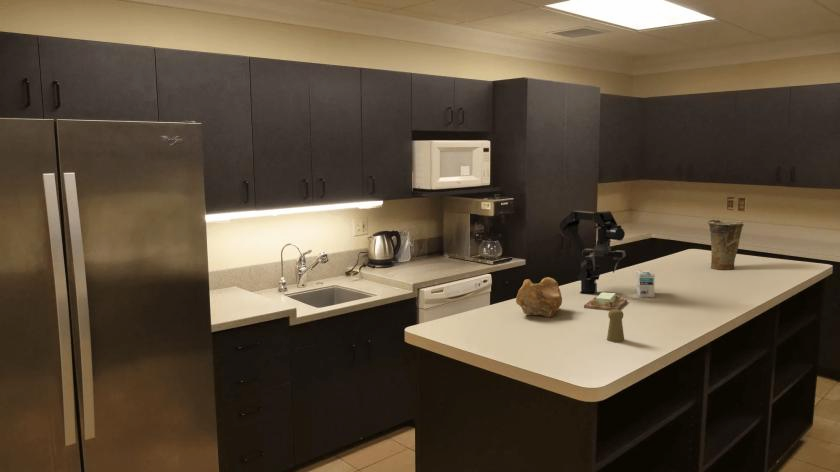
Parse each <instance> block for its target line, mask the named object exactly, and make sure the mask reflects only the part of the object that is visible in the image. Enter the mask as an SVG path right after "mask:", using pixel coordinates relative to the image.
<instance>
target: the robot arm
mask: <svg viewBox="0 0 840 472" xmlns="http://www.w3.org/2000/svg"><path fill="white" fill-rule="evenodd" d="M583 220H585V221H591V222H593V223H595V225H594V226H593V228H594V229H597V230H596V231H597V232H596V233H597V234H596V235H597V237H596V238H597V239H596V244H595V246H594V247H593V248H586V246H585V244H584V243H583V240H582V238H581V237H580V235H579V232H580V231H579V229H580V227H579V226H580V224H581V221H583ZM559 229H560V231H561V232H562V234H563V235H564V236H565V237H566V238H568V240H569V241H570V243H571V245H572V247H573V249H574V251H575V253H576V255H577V257H578V260H579V262H580V273H579V274H578V275H577V278H578V279H577V280H578V281H581V282H580V291H579V293H580V294H587V295H594V294H596V293H597V292H598V283H597V280H598V281H599V279H600V276H601V273H602V272H601V266H600V264H599V261H598V260H597V259H596V258H595V257H605V256H610V257H613V258H612V261H613V264H612V273H615V271H616V269H617V266H618V264H619V262H620V261H621V260H622V259H624V258H625V257H626V251H625V250H619V249H617V250H614V251H611V250H612V249H611V243H612V242H611V241H612V240H613V241H622V240H624V238H625V234H626V233H625V230H624V228H622V224H620V225H618V223H617V221H616V218H615V217H614V215H613V213H612V212H611V211H610V210H605V211H595V212H594V211H585V210H580V209H579V210H572V211H571V212H569V214H567V215H566V217H565V218H563V219H562V221H561V222H560V224H559Z"/></svg>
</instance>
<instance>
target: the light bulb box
mask: <svg viewBox="0 0 840 472" xmlns="http://www.w3.org/2000/svg"><path fill="white" fill-rule="evenodd" d="M636 294H637V295H638V296H639V298H655V274H654V273H653V271H652V270H640V269H639V270H636Z"/></svg>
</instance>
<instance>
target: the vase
mask: <svg viewBox="0 0 840 472" xmlns="http://www.w3.org/2000/svg"><path fill="white" fill-rule="evenodd" d="M707 224H708V225H709V232H710V246H711V248H710V249H711V260H710V261H711V263H710V269H713V270H719V271H733V270H734V269H735V262H736V261H735V260H736V257H737V253H738V250H739V245H740V239H741V234H742V231H743V227H744V226H745V223H744V221H739V220H738V221H721V220H719V219H717V220H716V219H710V220H707Z"/></svg>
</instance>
